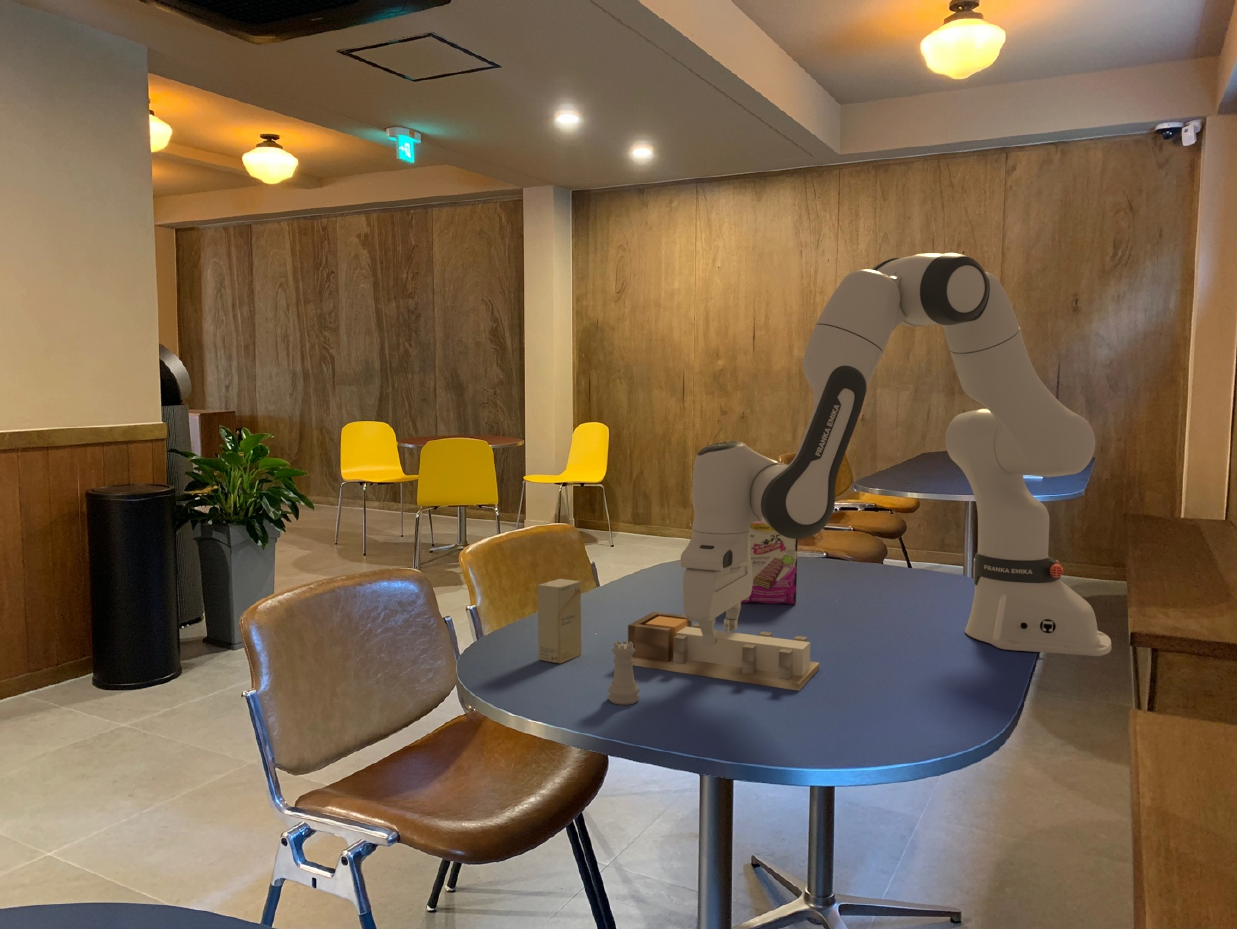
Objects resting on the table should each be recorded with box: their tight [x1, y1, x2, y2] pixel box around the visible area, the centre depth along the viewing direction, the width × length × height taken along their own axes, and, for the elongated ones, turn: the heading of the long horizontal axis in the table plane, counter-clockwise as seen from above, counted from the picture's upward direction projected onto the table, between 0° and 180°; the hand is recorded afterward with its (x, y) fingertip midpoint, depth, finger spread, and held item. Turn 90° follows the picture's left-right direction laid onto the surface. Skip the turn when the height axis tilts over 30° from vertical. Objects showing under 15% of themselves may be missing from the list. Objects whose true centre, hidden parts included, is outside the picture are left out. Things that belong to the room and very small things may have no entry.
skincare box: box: [537, 578, 582, 664], centre depth 144 cm, size 6×4×12 cm
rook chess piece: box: [607, 640, 641, 706], centre depth 124 cm, size 4×4×8 cm
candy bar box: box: [741, 522, 799, 605], centre depth 181 cm, size 11×5×16 cm, turn 84°
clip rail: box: [627, 611, 820, 692], centre depth 139 cm, size 28×11×6 cm, turn 63°
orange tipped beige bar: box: [646, 616, 811, 676], centre depth 139 cm, size 25×5×5 cm, turn 63°
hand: (720, 637), depth 139 cm, fingers open, 8 cm apart
